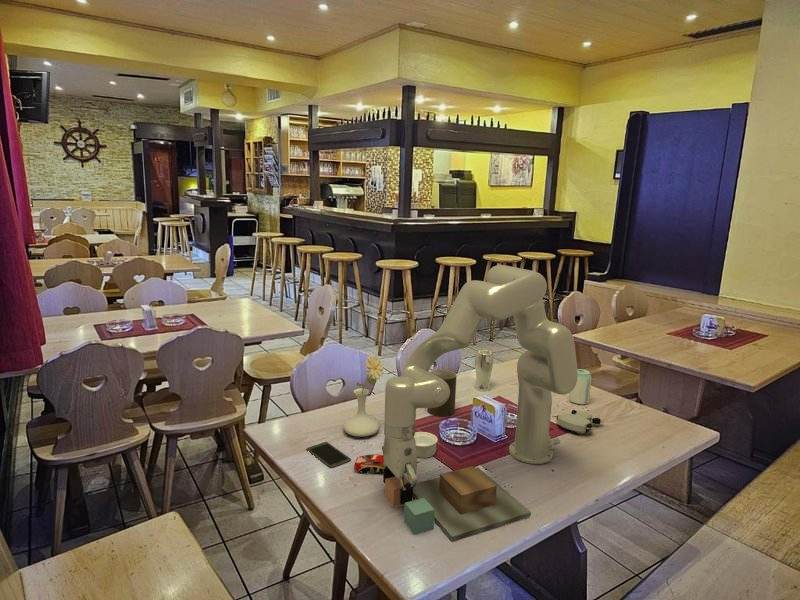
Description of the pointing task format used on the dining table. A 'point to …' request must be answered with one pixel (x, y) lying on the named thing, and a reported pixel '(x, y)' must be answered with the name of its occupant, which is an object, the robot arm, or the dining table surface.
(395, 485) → the terracotta brick
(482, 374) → the beer glass
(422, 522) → the teal-grey brick
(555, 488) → the dining table surface
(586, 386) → the can
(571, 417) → the robot toy
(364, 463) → the race car
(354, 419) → the flower in vase
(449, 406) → the pillar candle
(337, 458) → the cell phone
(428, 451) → the ramekin
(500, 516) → the tower base
